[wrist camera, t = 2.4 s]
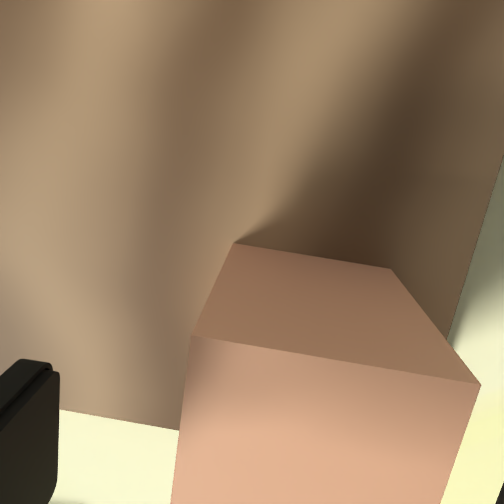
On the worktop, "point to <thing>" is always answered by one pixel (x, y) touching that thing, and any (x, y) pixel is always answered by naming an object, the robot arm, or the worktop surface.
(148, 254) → the board
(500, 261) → the worktop surface
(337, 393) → the salmon pink block
